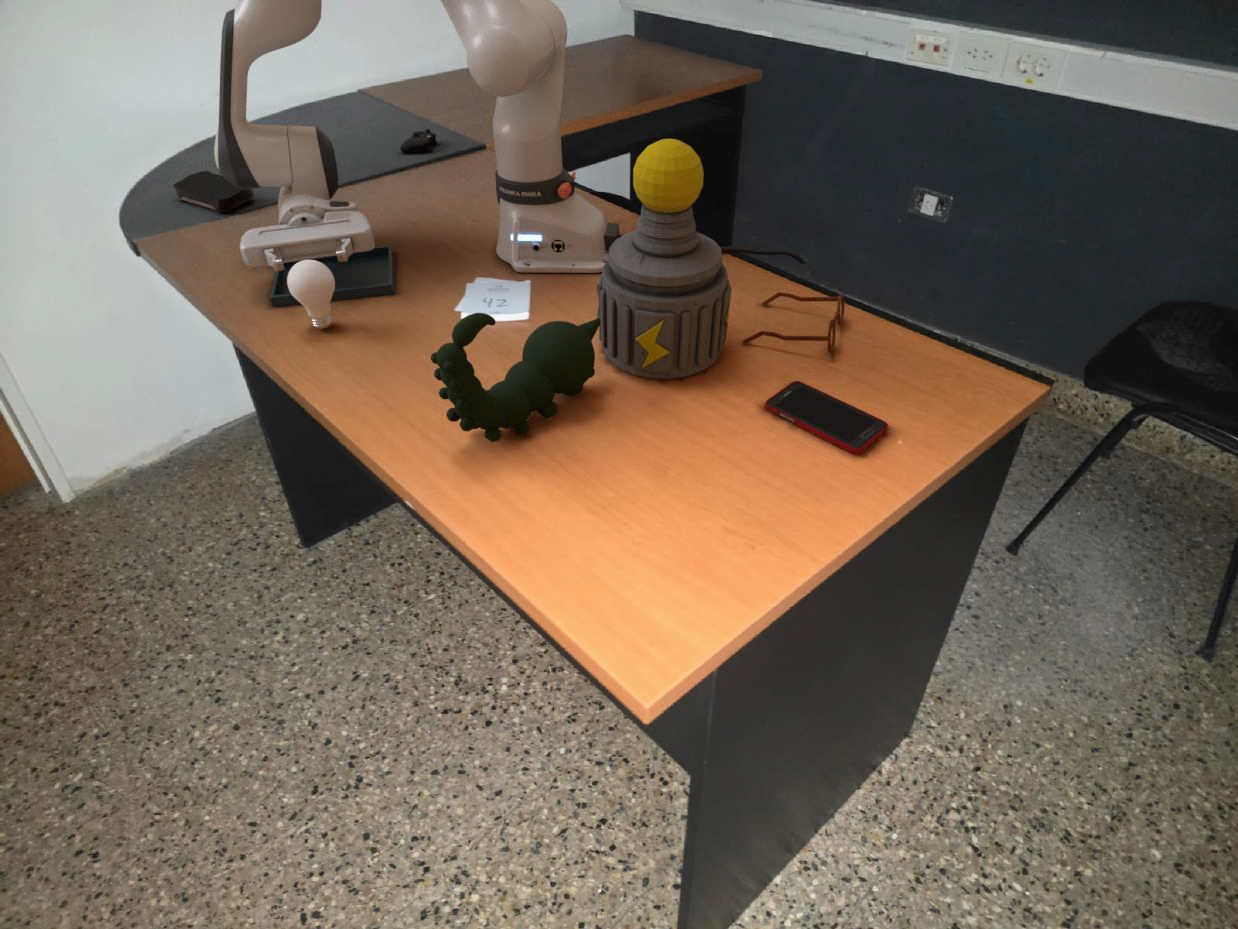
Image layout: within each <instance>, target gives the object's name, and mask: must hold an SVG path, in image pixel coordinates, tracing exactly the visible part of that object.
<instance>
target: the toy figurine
mask: <svg viewBox="0 0 1238 929" xmlns="http://www.w3.org/2000/svg"><path fill="white" fill-rule="evenodd" d="M496 323H497V321H496V320H495V318H494V317H493V316H491V315H490V314H488V313H484V312H474V313H470V314H468V315H466V316H464V317H463V318H462V319H460V320H459V321H458V322H456V324H455V325H454V327H453V329H452V333H451V339H452V342H447V343H444V344H443V345H441V346H440V347H439V348H438V349H437V351H435V352H433V353H431V355H430V361H431V362H432V363H433V364H435V365H437V366H438V368H436V369H435V370H434V371H433V376H434V378H435V379H436V380H437V381H440V382H442V383H443V384H444V387H441V388H440V389H439V391H438V395H439V398H441V399H442V400H449V401H450V402H451V404H453V405H454V407H450V408H449V409H448V410H447V411H446V415H445V416H446V418H447V420H448V421H449V422H451V423H453V422H455V423H457V422H459V421H460V422H459V423H458V424H459V427H460V429H461V430H462V431H464V432H470V431H472V430H477V429H481V430H482V431H484V438H485V439H487V440H488V441H489V442H490V443H496V442H498V441H499V440H500V439H501V438H502V430H501V429H502V428H503V429H513V430H514V432H515V433H516V434H517V435H520V436H522V435H527V434H528V433H529V431H530V429H531V426H530V423H529V421H528V420H529V419H530V418H531V416H532V414H533V413H536V412H537V414H538V415H540V416H541V417H543V419H546V420H549V419H551V418H554V417H555V415H556V414H557V412H558V405H557V403H556V402H554V398H556V394H557V395H560V394H563V395H565V396H570V397H575V396H577V395H580V394H581V393H582V391H583V390H584V387H585V383H587V382H588V380H590V379H591V378H593V377H594V376H595V374H596V373H595V372H596V370H595V362H596V353H595V348H594V344H593V342H592V341H593V339H594V337H595V335H596V333H597V331H598V330H599V325H600V323H601V320H600V319H596V318H595V319H592V320H590V321H587V322H584V323H581V324H579V325H577V324H575V323H572V322H570V321H564V320H553V321H549V322H546V323H543V324H541V325H540V326H538V327H537V328H535V329H534V330H533V331H532V332H531V333H530V334H529V336H528V337H527V338H526V340H525V342H524V344H523V348H522V349H523V350H522V354H521V355H522V356H521V360H520V361H518V362H516V363H515V364H513V365H512V366H511V367H510V368H509V369H508V370H507V372H506V375H505V377H504V379H503V380H501V381H499V382H496V383H494V384H493V385H492V386H491V387H490V389H485V388H484V387H483V384H482V382H481V381H480V379H479V378H478V377H477V375H475V369H474V367H473V364H472V363H471V361H469V360H468V354H467V351H466V350H465V348H464V347H467V346H469V345H470V344H471V343H473V342H474V340H475V339H476V337H477V336H478V334H479V333H480V332H481V331H482V330H483V329H484V328H486V327H487V326H495V325H496Z"/></svg>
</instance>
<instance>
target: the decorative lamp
mask: <svg viewBox="0 0 1238 929" xmlns="http://www.w3.org/2000/svg"><path fill="white" fill-rule="evenodd" d="M632 173H633V174H632V176H633V177H632V180H633V181H632V186H633V189H634V191H635V194H636V197H637V198H638V199H639V201H640V202H641V203H642V205H641V209H640V215H639V216H638V219H637V223H636V229H635V230H634V231H631V232H627V233H625V234H622V235H623V236H622V237H620V238H618V239H616V240H615V241H614V243H613V244H612V245H611V246H610V248H609V260H608V261H607V262H606V263H605V265H604V266H603V271H602V272H601V274H600V275H599V277H598V284H596V290H597V291H596V292H597V301H598V305H597V311H596V315H595V316H596V317H595V319H600V320H601V323H600V325H599V327H598V333H599V335H598V337H599V341H600V343H601V346H602V350H603V352H604V353H605V356H606V357H607V360H608V361H610V362H611V363H612V364H614V365H615V366H616V367H617V368H619V369H620V370H622V371H625V372H627V373H629V374H632V375H634V376H637V377H642V378H646V379H647V378H648V379H653V380H674V379H680V378H685V377H690V376H692V375H695V374H698V373H700V372H702V371H704V370H706V369H708V368H709V367H710V366H712V364H714V363H715V362H716V361H717V360H718V358H719V355H720V353H721V352H722V351H723V349H724V347H726V345H727V339H728V331H729V322H730V310H731V300H732V292H733V287H732V286H731V283H730V280H729V279H728V278H729V277H728V272H727V271H728V270H727V267H726V266H725V264H724V263H723V252H722V251H721V248H720V247H721V246H720V245H719V244H718V243H717V242H716V241H715V240H714V239H712V238H710V237H709V236H707V235H705V234H703V233H700V232H698V231H697V230H696V229H697V225H696V220H695V217H694V210H693V204H694V203H695V202H696V201H697V199H698V198H699V196H700V194H701V192H702V190H703V187H704V175H705V173H704V168H703V164H702V160H701V158H700V156H699V155H698V154H697V152H696V151H695V150H694V149H693V148H692V146H691V145H689V144H687V143H685V142H683V141H681V140H679V139H675V138H662V139H660V140H658V141H654V142H653V143H651V144H649V145H647V147H645V149H644V150H643V151H642V152H641V153H640V154H639V155H638V156H637V159H636V161H635V164H634V166H633V172H632Z"/></svg>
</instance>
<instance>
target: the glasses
mask: <svg viewBox="0 0 1238 929" xmlns="http://www.w3.org/2000/svg"><path fill="white" fill-rule="evenodd" d="M779 297H783V298H790V299H793V300H796V301H799V302H837V306H836V310H835V313H834V317H833V319H830V321H829V324H828V329H827V336H826V335H784V334H781V333H778V332H774V331H766V330H761V331H758V332H756V333H754V334H752V335H750V336H748V337H747V338H745V339H743V340H742V342H743V344H744V345H747V344H748V343H750V342H753V341H754V340H757V339H758V338H760V337H763V336H766V337H772V338H776V339H779V340H782V341H795V342H797V341H798V342H799V341H800V342H801V341H802V342H803V341H804V342H827V352H828V354H833V353H834V350H835V345H836V331H837V330H836V325H837V326H840V327H841V326H842V325H843V322H844V316H845V295H844V293H839V295H838V296H799V295H796V294H793V293H790V292H789V293H788V292H780V291H779V292H777V293H775V294H774V295H772V296H771V297H769V298H767V299H766V300H764V301H763V302H762V305H763V306H764V307H766V306H767V305H768V304H770V303H772V302H774V301H775V300H776V299H778V298H779Z"/></svg>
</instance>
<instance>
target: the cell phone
mask: <svg viewBox="0 0 1238 929" xmlns="http://www.w3.org/2000/svg"><path fill="white" fill-rule="evenodd" d="M764 408H765V409H766V410H767V411H769V412H771V413H773V414H774V415H777V416H779V417H781V418H783V419H785V420H787V421H789V422H791V423H793V424H794V425H795V426H798V427H800V428H802V429H804V430H806V431H807V432H810V433H812V434H813V435H816V436H818V437H819V438H822V439H823V440H825V441H828V442H830V443H831V444H833V445H835V446H837V447H839V448H841V449H844V450H845V451H847V452H850V453H852V454H853V455H854V454H855V455H861V454H862V453H864V452H865V451H866V450H867V448H869V447H870V446H872V443H873V442H875V441H877V440H879V439H880V438H881V437H882V436H883V435H884V434H885V433H886V432H887V431H888V430H889V423H888V422H886V421H885V420H884V419H881V418H879V417H877V416H875V415H872V414H870V413H868V412H867V411H864V410H862V409H860V408H858V407H855V406H853V405H851V404H849V403H847V402H845V401H843V400H840V399H839V398H836V397H834V396H832V395H830V394H828V393H826V392H823V391H821V390H820V389H818V388H816V387H813V386H811V385H809V384H807V383H805V382H802V381H799V380H795V381H794V380H793V381H792V382H790V383H788V384H787V385H786V386H784V387H783V388H782V389H780V390H779V391H778V392H776V393H775V394H773V395H772V396H771V397H769V398H768V399H766V400H765V403H764Z"/></svg>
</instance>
